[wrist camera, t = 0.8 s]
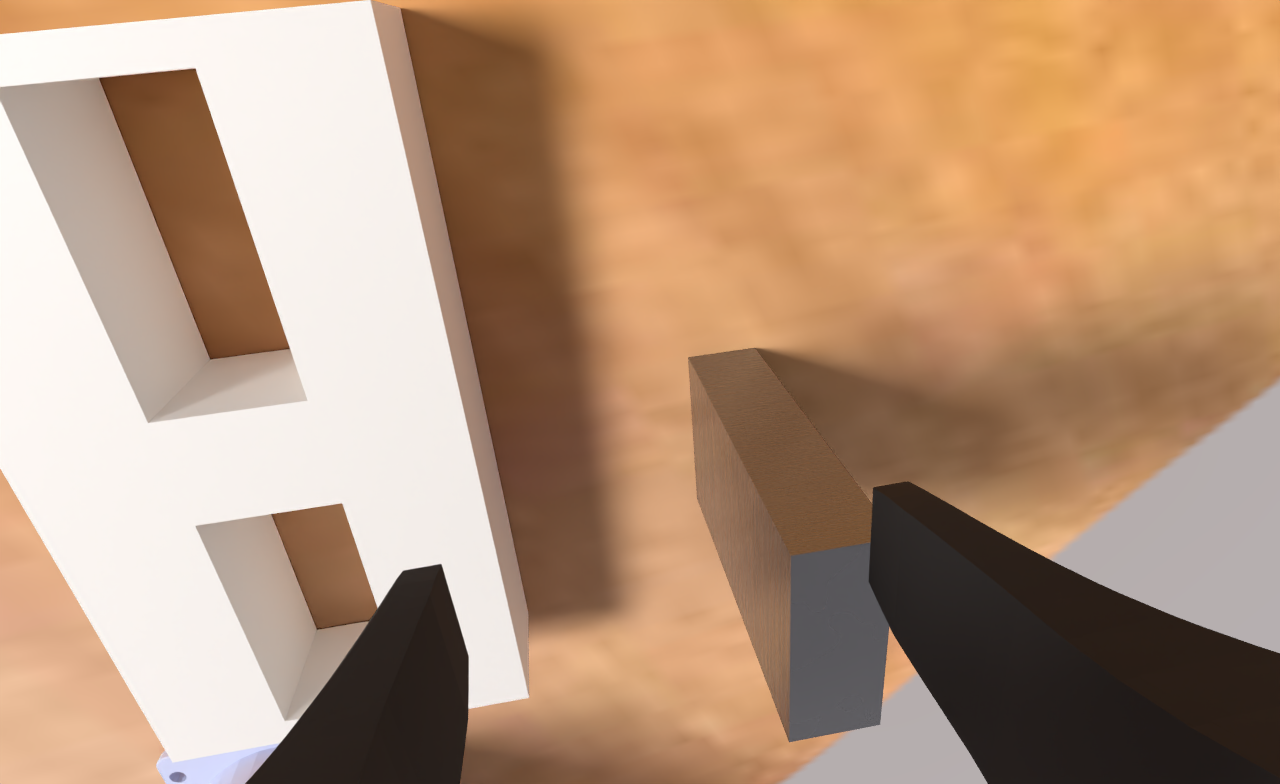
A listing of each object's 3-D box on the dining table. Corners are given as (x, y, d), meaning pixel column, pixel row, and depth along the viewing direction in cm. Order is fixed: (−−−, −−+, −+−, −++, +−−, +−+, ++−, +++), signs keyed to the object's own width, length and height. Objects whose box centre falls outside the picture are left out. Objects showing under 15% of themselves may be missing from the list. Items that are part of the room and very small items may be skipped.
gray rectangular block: (757, 489, 23) (880, 724, 15) (697, 498, 23) (789, 742, 15) (755, 347, 21) (897, 538, 13) (688, 357, 21) (790, 555, 13)
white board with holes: (528, 612, 24) (529, 697, 21) (219, 665, 23) (172, 762, 20) (399, 7, 16) (370, 0, 13) (-83, 53, 15) (-241, 56, 12)
